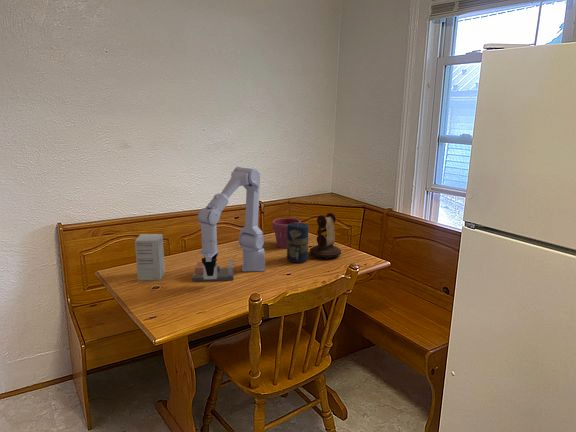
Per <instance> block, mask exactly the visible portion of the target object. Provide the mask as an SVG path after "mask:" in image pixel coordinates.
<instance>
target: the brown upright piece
mask: <svg viewBox="0 0 576 432" xmlns="http://www.w3.org/2000/svg"><path fill="white" fill-rule="evenodd" d="M336 219H337V218H336V216H335V215H334V213H332V212H329V213H327V214H326V215H325V216H324V215H318V217H317V218H316V224H317V225H318V227H317V229H318V230H317V231H316V233H317V237H316V243H317V244H316V245H313V246H312V247H311V248H310V249H309V254H310V256H314V257H318V258H325V259H326V261H328V260H329V258H335V257H338V256H341V255H342V250H341V248H339V247H338V246H335V241H336V235H335V228H336V227H335V223H336ZM322 233H326V234H325V236H324V235H323V234H322Z"/></svg>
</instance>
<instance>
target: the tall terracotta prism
mask: <svg viewBox="0 0 576 432" xmlns="http://www.w3.org/2000/svg"><path fill="white" fill-rule="evenodd" d="M195 266H196V268H195V267H194V271H195V270H196V274H203V266H204V264H203V263H202V261H197V262H196V264H195Z"/></svg>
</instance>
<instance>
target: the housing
mask: <svg viewBox="0 0 576 432" xmlns="http://www.w3.org/2000/svg"><path fill="white" fill-rule="evenodd" d="M217 266H218V262H216V263H215V266H214V273H213V276H207V273H206V269H205V266H203V276H204V279H217V275H218V273H217Z"/></svg>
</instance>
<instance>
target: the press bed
mask: <svg viewBox="0 0 576 432" xmlns="http://www.w3.org/2000/svg"><path fill="white" fill-rule="evenodd" d="M233 266H234V265H233V259H228V266H227V267H226V268H225V267H224V268H222V267H221V268H220V265H217V273H218V275H217V279H204V276H203V274H196V270H195V268H196V265H195V266H194V273H192V282H220V281H222V282H223V281H234V276H235V268H234V267H233Z"/></svg>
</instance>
